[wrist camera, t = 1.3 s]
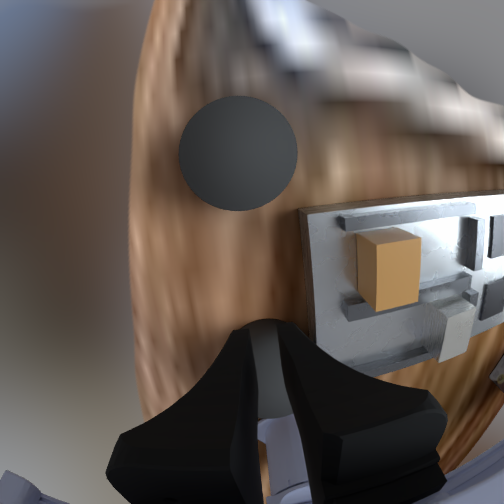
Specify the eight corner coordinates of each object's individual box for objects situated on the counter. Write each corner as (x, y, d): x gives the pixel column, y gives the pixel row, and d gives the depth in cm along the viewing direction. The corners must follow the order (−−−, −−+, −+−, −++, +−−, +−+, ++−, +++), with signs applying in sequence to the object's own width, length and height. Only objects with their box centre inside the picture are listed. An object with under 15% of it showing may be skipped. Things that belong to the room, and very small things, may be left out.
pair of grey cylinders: (236, 381, 24) (236, 422, 19) (188, 122, 18) (171, 107, 13) (305, 371, 24) (317, 411, 19) (276, 109, 18) (288, 90, 13)
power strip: (310, 362, 23) (326, 410, 18) (297, 208, 20) (320, 223, 14) (511, 299, 23) (543, 320, 17) (522, 188, 20) (561, 197, 14)
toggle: (357, 291, 18) (375, 312, 15) (356, 233, 17) (376, 244, 14) (396, 284, 18) (417, 301, 15) (396, 227, 17) (421, 237, 14)
